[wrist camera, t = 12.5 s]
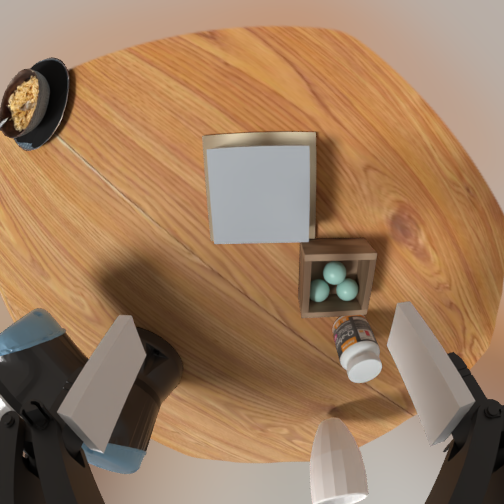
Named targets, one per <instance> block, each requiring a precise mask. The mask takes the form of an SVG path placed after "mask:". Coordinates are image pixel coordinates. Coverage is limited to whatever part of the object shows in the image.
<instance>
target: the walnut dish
mask: <svg viewBox="0 0 504 504" xmlns="http://www.w3.org/2000/svg"><path fill="white" fill-rule="evenodd" d="M376 259H377V252H376V251H375V250H374V249H373V248H372V246H371V245H370V244H369V243H368V242H367V241H366V239H365V238H315V239H309V242H300V260H299V288H298V299H299V305H300V311H301V317H302V318H318V317H337V316H353V315H367V310H368V305H369V300H370V295H371V289H372V284H373V278H374V272H375V265H376ZM331 261H339V262H341V263H342V264H343V265H344V266H345V268H346V277H345V278H351V279H353V280H354V281H356V283H357V285H358V294H357V296H356V297H355V298H354V299H352V300H350V301H344V300H342V299H340V298H339V297H338V295H337V292H336V287H337V285H333V284H330V283H328V282H327V281H326V280H325V279H324V276H323V270H324V267H325V266H326V264H327V263H329V262H331ZM315 279H322V280H324V281H325V282H326V283H327V284H328V286H329V289H330V292H329V295H328V297H327V298H326V299H325V300H324V301H322V302H314V301H312V300H311V299H310V283H311V281H313V280H315Z"/></svg>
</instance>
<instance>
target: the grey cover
mask: <svg viewBox="0 0 504 504" xmlns="http://www.w3.org/2000/svg"><path fill="white" fill-rule="evenodd" d="M207 163H208V177H209V190H210V202H211V214H212V225H213V236H214V244H240V243H290V242H309V210H310V149H309V146H307V145H250V146H231V147H216V148H211V149H207Z"/></svg>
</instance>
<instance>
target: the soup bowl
mask: <svg viewBox="0 0 504 504" xmlns="http://www.w3.org/2000/svg"><path fill="white" fill-rule="evenodd" d="M69 84H70V76H69V72H68V69H67V68H66V66H65V64H64V63H63V62H62V61H61V60H59V59H56V58H48V59H45V60H42V61H39V62H38V63H36V64H35V65H34V66H33V67H32V68H30V69H24V70H22V71H20V72H19V73H18V74H17V75H16V76H15V77H14V78H13V79H12V81H11V82H10V83H9V85H8V87H7V89H6V91H5V93H4V96H3V99H2V103H1V108H0V131H2V132H3V134H4V135H5V136H8V137H9V138H14V140H15V142H16V143H17V144H18V145H19V147H21V148H22V149H23V150H26V151H31V150H34V149H37V148H39V147H40V146H42V145H43V144H44V143H45V142H47V141H48V140H49V139H50V137H51V136H52V135H53V134H54V132H55V131H56V129H57V128H58V126H59V124H60V122H61V120H62V117H63V113H64V110H65V107H66V102H67V99H68V91H69Z"/></svg>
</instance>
